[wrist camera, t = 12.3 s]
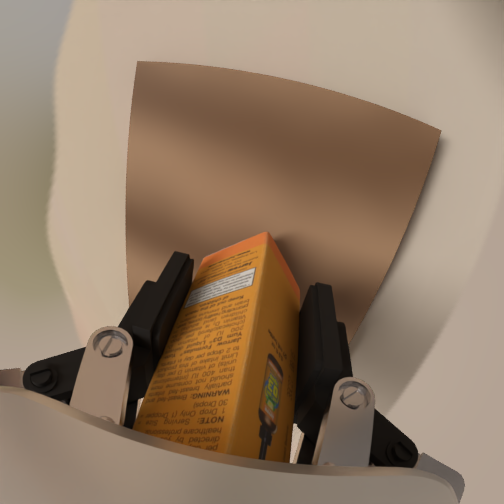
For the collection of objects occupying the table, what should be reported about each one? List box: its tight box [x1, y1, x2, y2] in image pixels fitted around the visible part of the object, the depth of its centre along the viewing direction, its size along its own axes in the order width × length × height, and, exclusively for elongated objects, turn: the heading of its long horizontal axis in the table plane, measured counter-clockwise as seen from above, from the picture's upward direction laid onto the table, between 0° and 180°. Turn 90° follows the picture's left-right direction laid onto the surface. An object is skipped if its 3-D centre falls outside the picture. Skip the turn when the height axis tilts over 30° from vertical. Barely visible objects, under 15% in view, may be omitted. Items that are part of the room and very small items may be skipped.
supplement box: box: [132, 232, 300, 463], centre depth 9 cm, size 3×3×10 cm
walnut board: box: [126, 61, 441, 345], centre depth 14 cm, size 16×12×1 cm
